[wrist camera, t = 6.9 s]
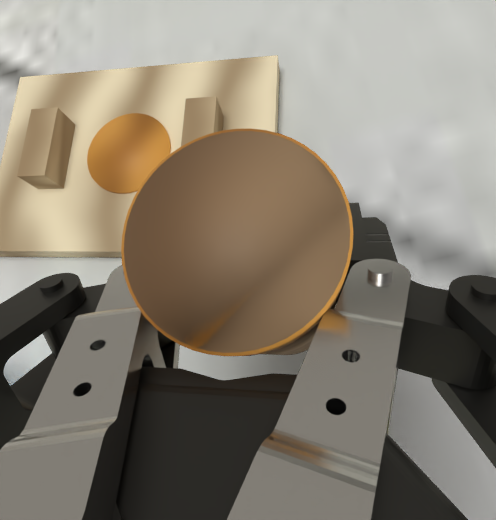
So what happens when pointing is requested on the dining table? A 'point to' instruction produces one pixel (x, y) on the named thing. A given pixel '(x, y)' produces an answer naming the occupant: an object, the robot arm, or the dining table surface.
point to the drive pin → (238, 244)
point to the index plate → (113, 145)
